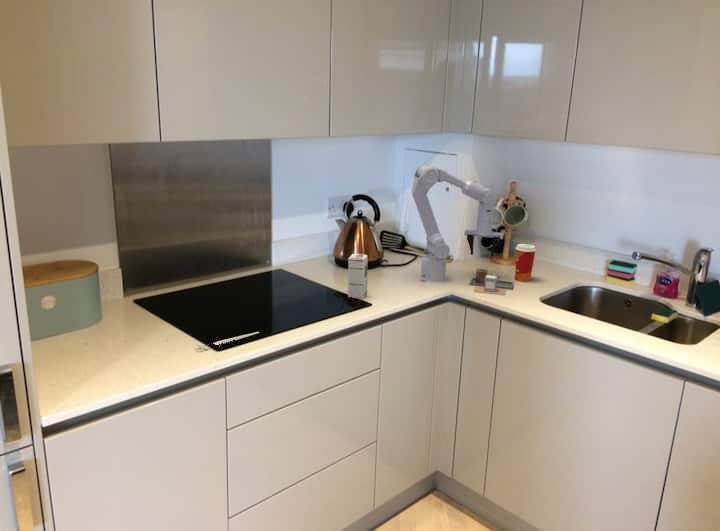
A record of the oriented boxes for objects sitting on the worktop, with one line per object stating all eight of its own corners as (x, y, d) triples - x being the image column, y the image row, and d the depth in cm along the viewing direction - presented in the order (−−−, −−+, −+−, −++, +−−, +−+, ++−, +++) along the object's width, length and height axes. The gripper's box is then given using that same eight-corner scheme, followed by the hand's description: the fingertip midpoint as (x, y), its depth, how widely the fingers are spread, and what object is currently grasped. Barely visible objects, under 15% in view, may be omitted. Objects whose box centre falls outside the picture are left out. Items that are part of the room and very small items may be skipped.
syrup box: (364, 299, 204) (365, 258, 200) (347, 297, 205) (348, 257, 201) (367, 294, 210) (368, 254, 206) (350, 292, 211) (351, 253, 207)
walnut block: (474, 284, 223) (476, 271, 222) (475, 281, 227) (477, 268, 225) (485, 285, 222) (486, 272, 221) (486, 282, 226) (487, 269, 224)
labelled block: (483, 291, 215) (485, 277, 213) (484, 287, 218) (486, 274, 217) (495, 292, 213) (496, 279, 212) (496, 289, 217) (497, 275, 216)
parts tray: (469, 286, 222) (469, 282, 222) (471, 280, 229) (471, 277, 229) (512, 290, 218) (512, 287, 218) (513, 284, 225) (513, 281, 225)
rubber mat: (473, 292, 214) (473, 291, 214) (475, 287, 221) (475, 285, 221) (504, 296, 211) (505, 294, 211) (505, 290, 218) (505, 289, 218)
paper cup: (516, 276, 236) (519, 242, 232) (535, 280, 231) (539, 245, 228) (509, 281, 229) (512, 246, 225) (528, 285, 225) (532, 249, 221)
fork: (262, 336, 173) (262, 330, 172) (200, 353, 159) (200, 347, 159) (255, 333, 175) (255, 327, 174) (194, 349, 161) (194, 343, 161)
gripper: (464, 221, 224) (461, 255, 227) (503, 224, 220) (500, 259, 224) (466, 217, 230) (463, 251, 234) (504, 220, 226) (501, 255, 230)
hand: (481, 255), depth 229 cm, fingers open, 7 cm apart
